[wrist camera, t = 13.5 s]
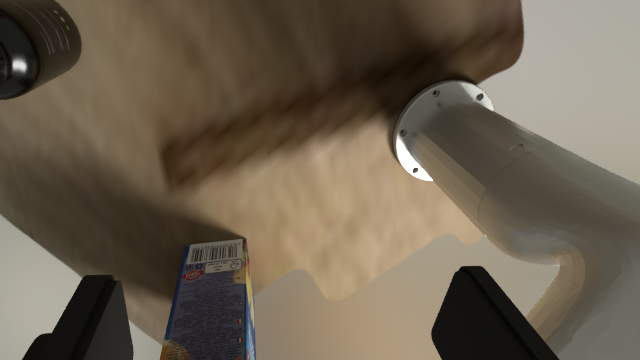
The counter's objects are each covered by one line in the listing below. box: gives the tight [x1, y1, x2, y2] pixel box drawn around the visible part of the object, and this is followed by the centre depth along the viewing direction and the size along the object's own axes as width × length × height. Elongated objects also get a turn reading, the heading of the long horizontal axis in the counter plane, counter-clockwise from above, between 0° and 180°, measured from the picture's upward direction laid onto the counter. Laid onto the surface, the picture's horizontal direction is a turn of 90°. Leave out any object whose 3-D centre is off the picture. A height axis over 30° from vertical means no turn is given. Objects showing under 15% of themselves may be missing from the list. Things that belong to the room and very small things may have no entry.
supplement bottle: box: [0, 0, 81, 100], centre depth 26 cm, size 7×7×12 cm
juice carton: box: [160, 238, 256, 360], centre depth 38 cm, size 12×8×24 cm, turn 179°
